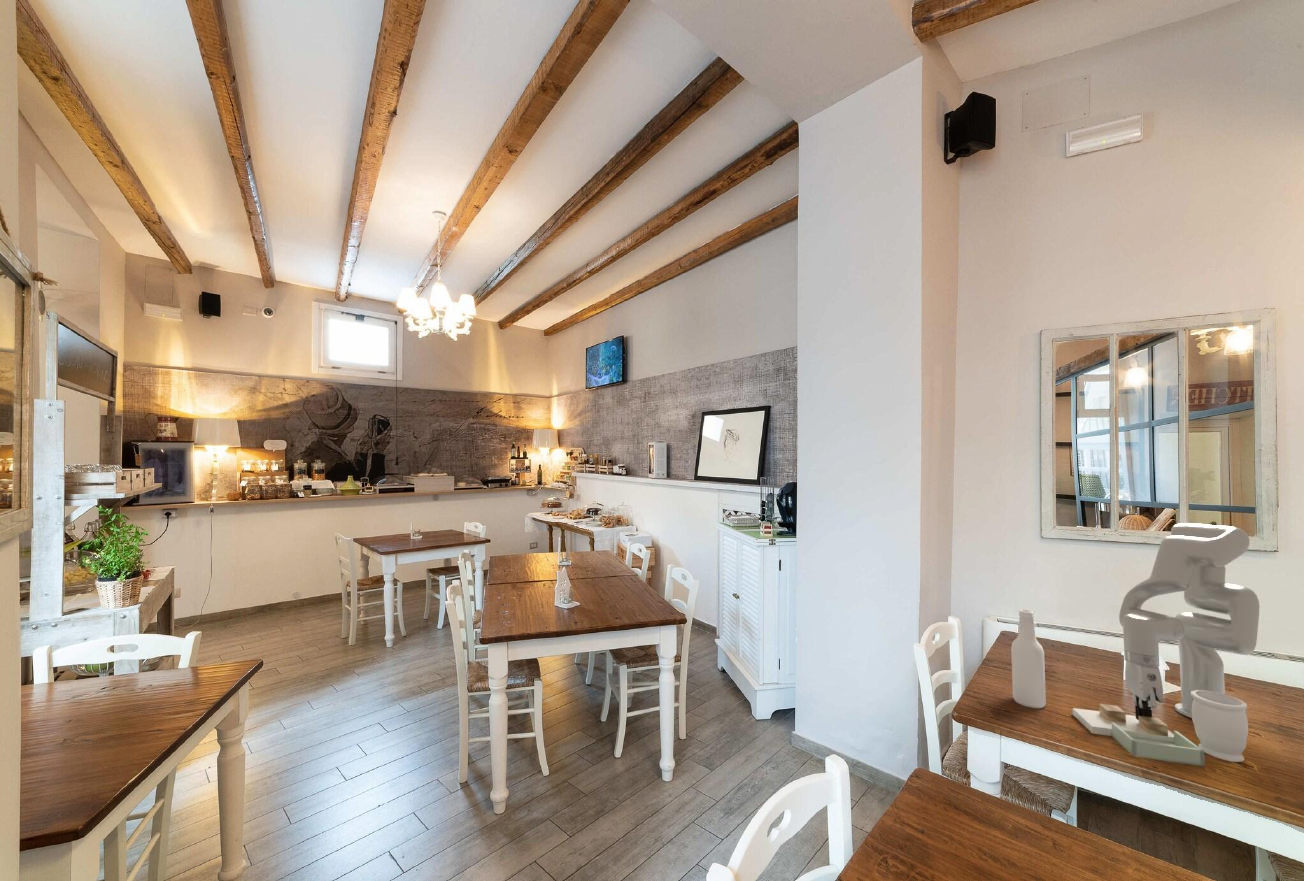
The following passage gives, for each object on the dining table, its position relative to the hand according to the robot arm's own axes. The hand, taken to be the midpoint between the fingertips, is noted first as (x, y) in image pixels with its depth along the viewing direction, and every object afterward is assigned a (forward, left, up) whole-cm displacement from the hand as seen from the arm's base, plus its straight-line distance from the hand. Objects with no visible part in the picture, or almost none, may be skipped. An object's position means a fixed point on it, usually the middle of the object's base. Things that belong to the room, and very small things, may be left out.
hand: (1143, 720), depth 151 cm
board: (+5, 0, -3) cm, 6 cm away
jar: (-13, +8, -3) cm, 15 cm away
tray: (+3, +12, -3) cm, 13 cm away
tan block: (+7, -2, -1) cm, 7 cm away
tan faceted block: (0, +4, -1) cm, 4 cm away
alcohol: (+25, -11, -3) cm, 28 cm away
